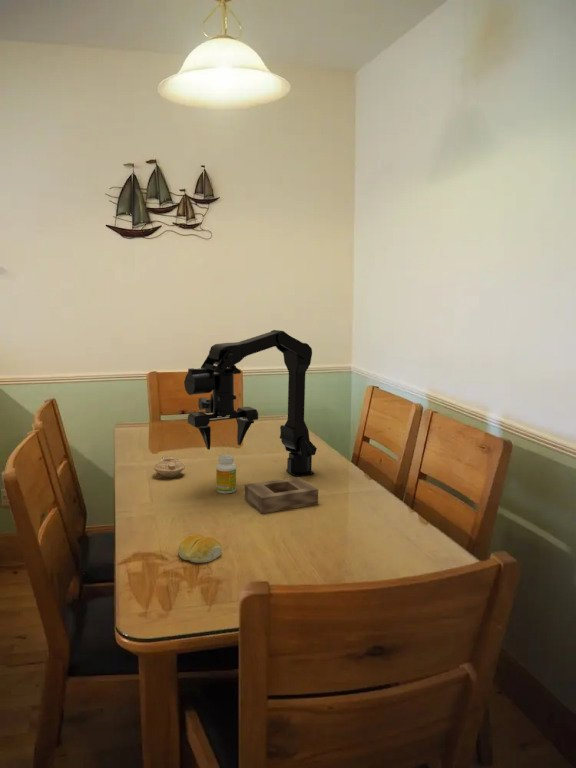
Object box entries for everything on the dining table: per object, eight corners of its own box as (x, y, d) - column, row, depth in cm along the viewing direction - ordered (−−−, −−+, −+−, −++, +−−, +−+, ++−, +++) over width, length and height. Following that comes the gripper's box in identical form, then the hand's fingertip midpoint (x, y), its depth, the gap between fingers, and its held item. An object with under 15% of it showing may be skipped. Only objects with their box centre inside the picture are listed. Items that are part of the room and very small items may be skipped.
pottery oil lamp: (179, 465, 188) (187, 447, 185) (178, 489, 177) (187, 471, 174) (151, 457, 185) (159, 439, 182) (149, 481, 174) (158, 463, 172)
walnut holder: (298, 491, 166) (298, 477, 166) (317, 504, 157) (318, 489, 156) (244, 499, 159) (244, 484, 159) (261, 513, 150) (261, 498, 149)
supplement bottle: (232, 494, 163) (232, 460, 161) (213, 493, 164) (213, 458, 162) (238, 488, 168) (238, 454, 166) (219, 486, 169) (219, 453, 168)
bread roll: (195, 543, 133) (195, 526, 132) (227, 553, 128) (227, 535, 127) (169, 556, 126) (168, 538, 125) (201, 568, 121) (201, 549, 120)
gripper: (241, 383, 174) (241, 436, 176) (179, 389, 164) (180, 444, 167) (259, 389, 164) (259, 445, 167) (195, 396, 155) (196, 454, 158)
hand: (223, 447), depth 165 cm, fingers open, 9 cm apart
